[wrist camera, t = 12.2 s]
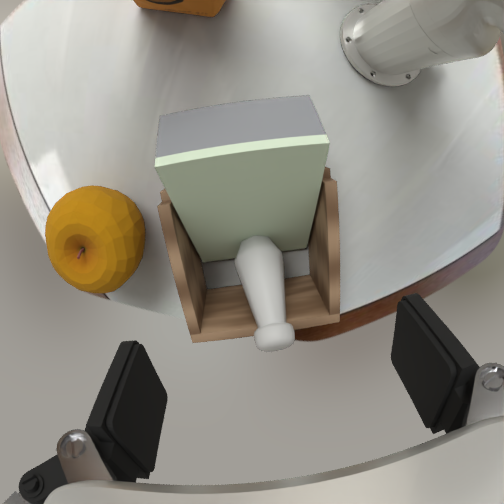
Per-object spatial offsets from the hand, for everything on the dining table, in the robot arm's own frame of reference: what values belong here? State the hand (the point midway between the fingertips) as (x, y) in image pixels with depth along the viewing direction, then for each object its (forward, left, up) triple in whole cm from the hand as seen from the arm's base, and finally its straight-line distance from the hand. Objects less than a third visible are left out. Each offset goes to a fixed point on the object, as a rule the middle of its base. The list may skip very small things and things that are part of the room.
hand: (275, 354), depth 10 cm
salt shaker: (0, +6, -27) cm, 28 cm away
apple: (+19, +1, -31) cm, 36 cm away
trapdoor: (0, -3, -28) cm, 28 cm away
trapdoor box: (0, +5, -30) cm, 31 cm away
